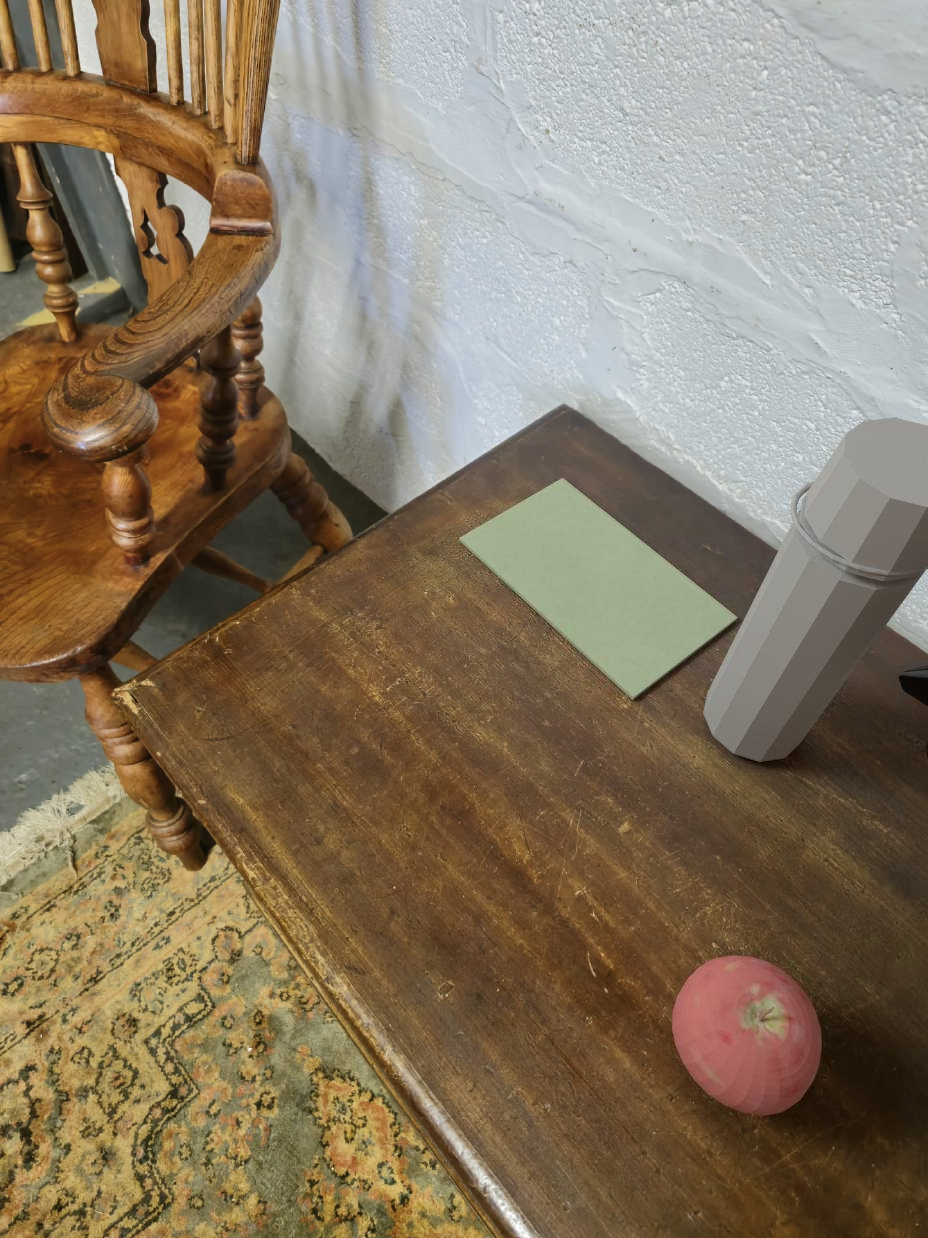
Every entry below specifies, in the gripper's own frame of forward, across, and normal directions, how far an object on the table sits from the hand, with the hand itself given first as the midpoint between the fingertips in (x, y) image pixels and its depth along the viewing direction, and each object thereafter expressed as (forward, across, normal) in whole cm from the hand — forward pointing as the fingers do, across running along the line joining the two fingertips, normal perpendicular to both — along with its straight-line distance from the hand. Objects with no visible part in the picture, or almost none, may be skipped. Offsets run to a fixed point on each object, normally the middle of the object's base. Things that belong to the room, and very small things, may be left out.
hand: (903, 679), depth 49 cm
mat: (+25, 0, -7) cm, 26 cm away
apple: (+4, +19, +13) cm, 24 cm away
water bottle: (+14, 0, +4) cm, 14 cm away
